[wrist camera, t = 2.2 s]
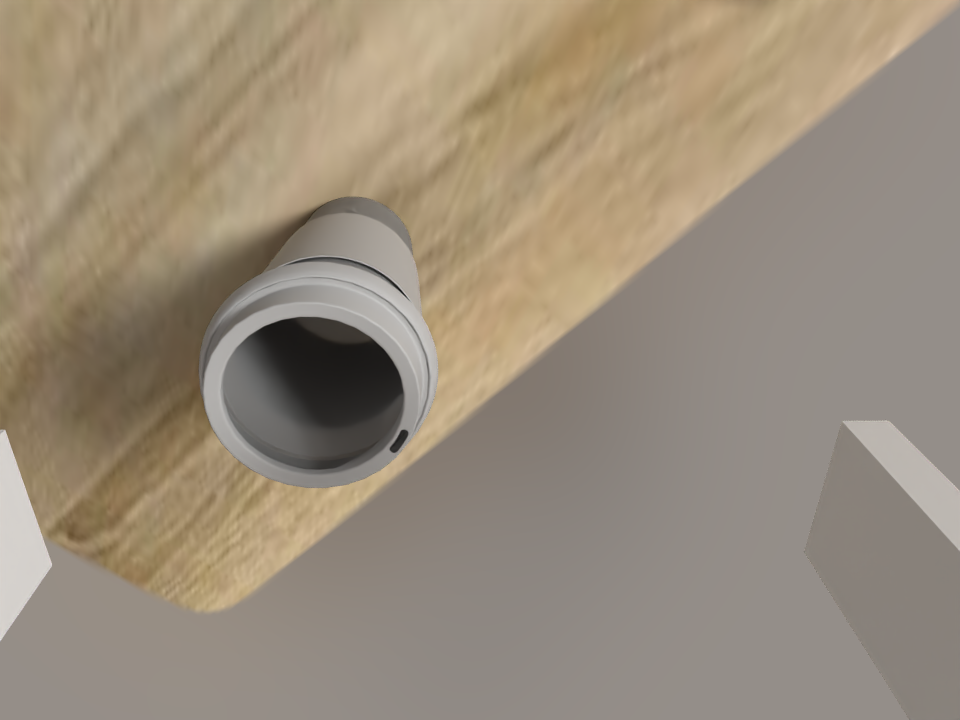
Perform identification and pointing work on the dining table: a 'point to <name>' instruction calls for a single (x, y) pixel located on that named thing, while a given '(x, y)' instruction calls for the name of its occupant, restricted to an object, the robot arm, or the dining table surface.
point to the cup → (323, 352)
